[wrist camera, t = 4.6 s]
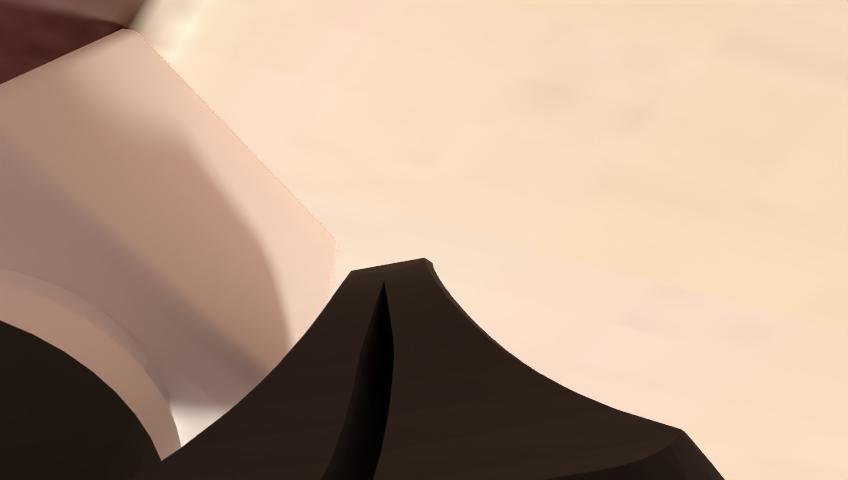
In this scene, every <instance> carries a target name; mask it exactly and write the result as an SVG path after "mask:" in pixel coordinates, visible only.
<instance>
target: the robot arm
mask: <svg viewBox="0 0 848 480" xmlns="http://www.w3.org/2000/svg"><path fill="white" fill-rule="evenodd" d="M132 480H724V478H723V477H722V476H721V475H720V473H719V472H718V471H717V470H716V468H715V467H714V466H713V464H712V463H711V462H710V461H709V460H708V459H707V457H706V456H705V455H704V454H703V453H702V451H701V450H700V449H699V448H698V447H697V445H696V444H695V443H694V442H693V441H692V440H691V438H690V437H689V436H688V435H687V434H686V433H685V432H684V431H683V430H681V429H678V428H675V427H672V426H669V425H665V424H662V423H659V422H655V421H652V420H649V419H646V418H642V417H639V416H636V415H633V414H629V413H626V412H623V411H620V410H617V409H614V408H612V407H609V406H607V405H604V404H602V403H600V402H597V401H595V400H592V399H590V398H587V397H585V396H583V395H580V394H578V393H576V392H574V391H572V390H570V389H568V388H566V387H564V386H562V385H560V384H558V383H556V382H555V381H553V380H551V379H549V378H547V377H546V376H544V375H542V374H540V373H538V372H537V371H535V370H534V369H532V368H531V367H529V366H527V365H526V364H524V363H523V362H522V361H520V360H519V359H518V358H516V357H515V356H513V355H512V354H511V353H509V352H508V351H507V350H505V349H504V348H503V347H502V346H501V345H499V344H498V343H497V342H496V341H495V340H493V339H492V338H491V337H490V336H489V335H488V334H487V333H486V332H485V331H484V330H483V329H481V328H480V327H479V326H478V325H477V324H476V323H475V322H474V321H473V320H472V319H471V318H470V317H469V316H468V315H467V313H466V312H465V311H464V310H463V309H462V308H461V307H460V305H459V304H458V303H457V302H456V301H455V300H454V298H453V297H452V296H451V295H450V293H449V292H448V291H447V289H446V288H445V287H444V285H443V284H442V282H441V281H440V279H439V277H438V276H437V274H436V272H435V270H434V268H433V263H432V262H430V261H429V260H427V259H426V258H421V259H415V260H409V261H404V262H398V263H393V264H387V265H381V266H376V267H370V268H365V269H359V270H353V271H351V272H350V273H349V275H348V276H347V277H346V279H345V280H344V281H343V283H342V284H341V285H340V287H339V288H338V289H337V291H336V292H335V294H334V295H333V297H332V298H331V299H330V301H329V302H328V303H327V305H326V306H325V308H324V309H323V310H322V312H321V313H320V314H319V316H318V317H317V318H316V320H315V321H314V322H313V324H312V325H311V326H310V327H309V329H308V330H307V331H306V333H305V334H304V335H303V336H302V337H301V338H300V340H299V341H298V342H297V343H296V344H295V345H294V346H293V348H292V349H291V350H290V351H289V352H288V353H287V354H286V356H285V357H284V358H283V359H282V360H281V361H280V363H279V364H278V365H277V366H276V367H275V368H274V369H273V370H272V371H271V372H270V373H269V374H268V375H267V376H266V377H265V378H264V379H263V380H262V381H261V382H260V383H259V384H258V385H257V386H256V387H255V388H254V389H253V390H252V391H250V392H249V393H248V394H247V395H246V396H245V397H244V398H243V399H242V400H241V401H239V402H238V403H237V404H236V405H235V406H234V407H233V408H231V409H230V410H229V411H228V412H227V413H225V414H224V415H223V416H221V417H220V418H219V419H218V420H216V421H215V422H214V423H212V424H211V425H210V426H208V427H207V428H206V429H205V430H203V431H202V432H201V433H199V434H198V435H197V436H196V437H194V438H193V439H192V440H190V441H189V442H188V443H186V444H185V445H184V446H182V447H181V448H180V449H178V450H177V451H175V452H174V453H172V454H171V455H169V456H168V457H166V458H165V459H163V460H162V461H160V462H159V463H157V464H156V465H154V466H153V467H151V468H150V469H148V470H147V471H145V472H144V473H142V474H140V475H139V476H137V477H136V478H134V479H132Z"/></svg>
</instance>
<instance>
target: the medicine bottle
mask: <svg viewBox="0 0 848 480" xmlns="http://www.w3.org/2000/svg"><path fill="white" fill-rule="evenodd" d="M338 246H339V245H338V243H337V241H336V240H335V238H334V236H333V235H332V234H331V233H330V232H329V231H328V230H327V229H326V228H325V227H324V226H323V225H322V224H321V223H320V222H319V221H318V220H317V219H316V218H315V217H314V215H313V214H312V213H311V212H310V211H309V210H308V209H307V208H306V207H305V206H304V205H303V204H302V203H301V202H300V201H299V200H298V199H297V198H296V197H295V196H294V195H293V194H292V192H291V191H290V190H289V189H288V188H287V187H286V186H285V185H284V184H283V183H282V182H281V181H280V180H279V179H278V178H277V177H276V176H275V175H274V174H273V173H272V172H271V171H270V169H269V168H268V167H267V166H266V165H265V164H264V163H263V162H262V161H261V160H260V159H259V158H258V157H257V156H256V155H255V154H254V153H253V152H252V151H251V150H250V149H249V147H248V146H247V145H246V144H245V143H244V142H243V141H242V140H241V139H240V138H239V137H238V136H237V135H236V134H235V133H234V132H233V131H232V130H231V129H230V128H229V127H228V126H227V124H226V123H225V122H224V121H223V120H222V119H221V118H220V117H219V116H218V115H217V114H216V113H215V112H214V111H213V110H212V109H211V108H210V107H209V106H208V105H207V104H206V102H205V101H204V100H203V99H202V98H201V97H200V96H199V95H198V94H197V93H196V92H195V91H194V90H193V89H192V88H191V87H190V86H189V85H188V84H187V83H186V82H185V81H184V79H183V78H182V77H181V76H180V75H179V74H178V73H177V72H176V71H175V70H174V69H173V68H172V67H171V66H170V65H169V64H168V63H167V62H166V61H165V60H164V59H163V58H162V56H161V55H160V54H159V53H158V52H157V51H156V50H155V49H154V48H153V47H152V46H151V45H150V44H149V43H148V42H147V41H146V40H145V39H144V38H143V37H142V36H141V35H140V34H139V33H137V32H136V31H134V30H130V29H121V30H119V31H117V32H114V33H112V34H110V35H108V36H106V37H103V38H101V39H99V40H97V41H95V42H92V43H90V44H88V45H86V46H84V47H81V48H79V49H77V50H75V51H73V52H70V53H68V54H66V55H64V56H62V57H59V58H57V59H55V60H53V61H51V62H48V63H46V64H44V65H42V66H40V67H37V68H35V69H33V70H31V71H29V72H27V73H24V74H22V75H20V76H18V77H16V78H13V79H11V80H9V81H7V82H5V83H2V84H0V480H132V479H134V478H136V477H137V476H139V475H140V474H142V473H144V472H145V471H147V470H148V469H150V468H151V467H153V466H154V465H156V464H157V463H159V462H160V461H162V460H163V459H165V458H166V457H168V456H169V455H171V454H172V453H174V452H175V451H177V450H178V449H180V448H181V447H182V446H184V445H185V444H186V443H188V442H189V441H190V440H192V439H193V438H194V437H196V436H197V435H198V434H199V433H201V432H202V431H203V430H205V429H206V428H207V427H208V426H210V425H211V424H212V423H214V422H215V421H216V420H218V419H219V418H220V417H221V416H223V415H224V414H225V413H227V412H228V411H229V410H230V409H231V408H233V407H234V406H235V405H236V404H237V403H238V402H239V401H241V400H242V399H243V398H244V397H245V396H246V395H247V394H248V393H249V392H250V391H252V390H253V389H254V388H255V387H256V386H257V385H258V384H259V383H260V382H261V381H262V380H263V379H264V378H265V377H266V376H267V375H268V374H269V373H270V372H271V371H272V370H273V369H274V368H275V367H276V366H277V365H278V364H279V363H280V361H281V360H282V359H283V358H284V357H285V356H286V354H287V353H288V352H289V351H290V350H291V349H292V348H293V346H294V345H295V344H296V343H297V342H298V341H299V340H300V338H301V337H302V336H303V335H304V334H305V333H306V331H307V330H308V329H309V327H310V326H311V325H312V324H313V322H314V321H315V320H316V318H317V317H318V316H319V314H320V313H321V312H322V310H323V309H324V308H325V306H326V305H327V303H328V302H329V301H330V299H331V298H332V291H333V284H334V277H335V270H336V263H337V256H338Z"/></svg>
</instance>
